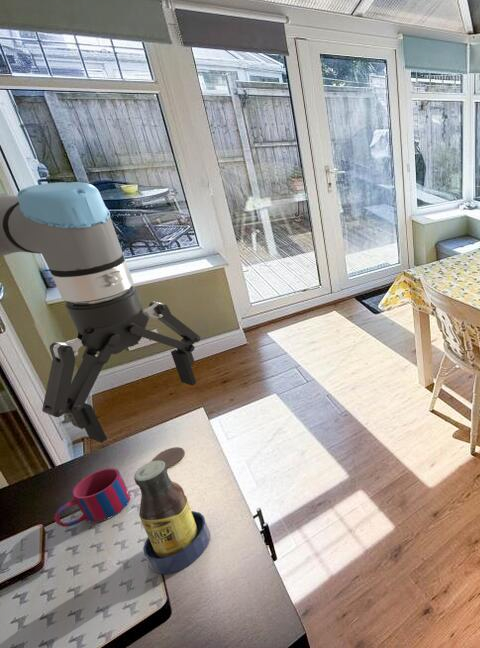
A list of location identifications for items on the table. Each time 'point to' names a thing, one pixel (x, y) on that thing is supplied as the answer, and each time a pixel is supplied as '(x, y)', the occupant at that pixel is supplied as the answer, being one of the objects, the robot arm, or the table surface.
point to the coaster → (170, 456)
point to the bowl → (182, 557)
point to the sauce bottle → (164, 510)
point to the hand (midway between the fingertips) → (147, 408)
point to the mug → (97, 497)
